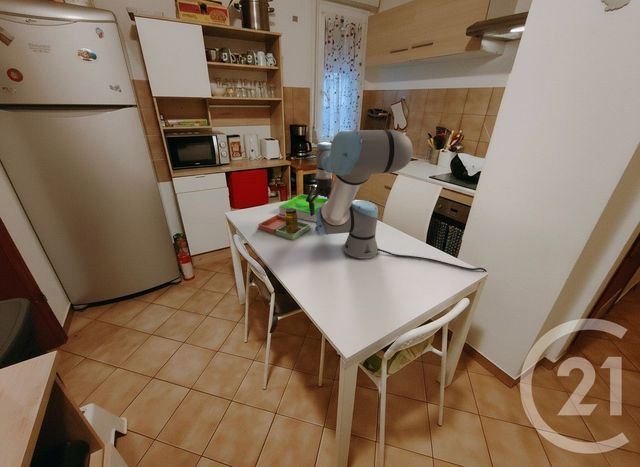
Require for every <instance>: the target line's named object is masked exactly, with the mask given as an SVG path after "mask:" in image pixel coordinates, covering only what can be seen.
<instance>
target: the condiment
mask: <svg viewBox="0 0 640 467" xmlns="http://www.w3.org/2000/svg"><path fill="white" fill-rule="evenodd" d="M284 217H285V219H286V230H285V231H284V232H285V233H288V234H295V233H296V232H298V231H300V230H301V229H303V228H299V227H298V222H297V221H298V218H297V214H296V209H294V208H289V209H287V210H286V215H284Z"/></svg>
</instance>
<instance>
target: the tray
mask: <svg viewBox="0 0 640 467" xmlns="http://www.w3.org/2000/svg"><path fill="white" fill-rule="evenodd" d="M307 196H308V194H303V193H299V194H298V195H296V196H294V197H293V198H291V199H289V200H288V201H286V202H284V203H283V204H281V205H279V206H278V208H279V215H280V216H285V215H286V210H287V209H289V208H294V209H296V214H297V219H299V220H304V221H308V222H312V223H316V221H317V217H316V208H318V207H322V206H323V204H324V203H325V202H327V201H328V199H327V197H321V196H318V197H317V198H316V199H315V200H314V202H313V203H314V215H313V216H310V209H309V202H306V198H307ZM313 196H314V195H312V197H311V199H312V198H313ZM311 199H310V200H311Z"/></svg>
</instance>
